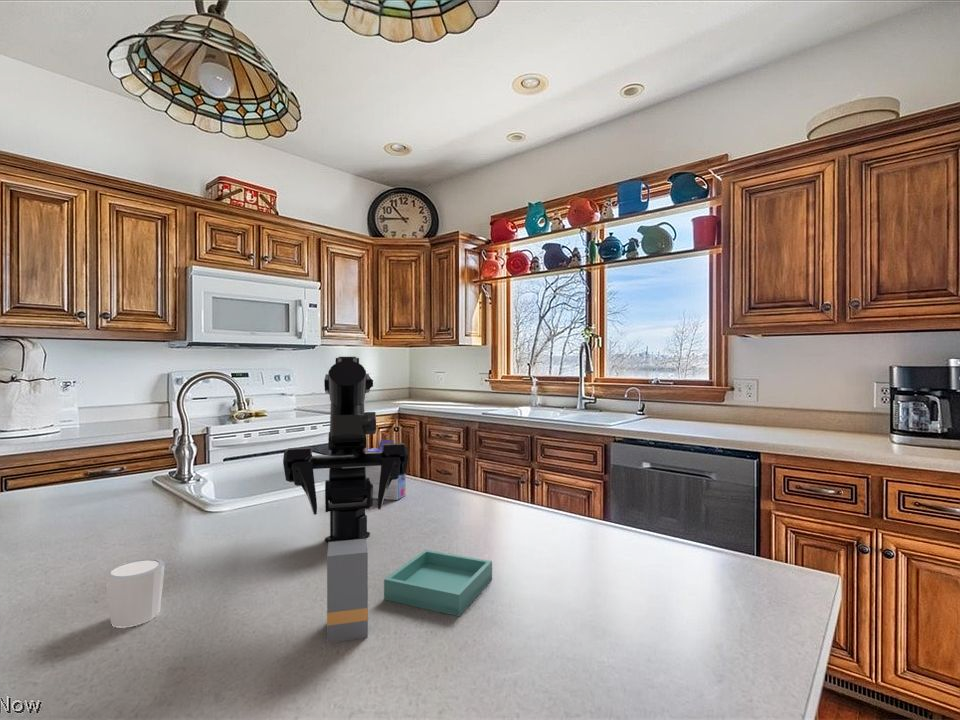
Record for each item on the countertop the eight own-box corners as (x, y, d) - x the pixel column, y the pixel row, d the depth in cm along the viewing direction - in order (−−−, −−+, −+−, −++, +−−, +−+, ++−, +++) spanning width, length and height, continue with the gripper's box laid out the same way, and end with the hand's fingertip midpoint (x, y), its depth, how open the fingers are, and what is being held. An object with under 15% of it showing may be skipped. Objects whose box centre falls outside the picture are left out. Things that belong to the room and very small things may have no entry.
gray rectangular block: (328, 622, 68) (328, 541, 68) (366, 617, 69) (366, 538, 69) (327, 643, 63) (326, 556, 63) (367, 637, 64) (367, 552, 64)
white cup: (125, 606, 72) (124, 558, 72) (174, 604, 73) (174, 556, 73) (92, 632, 65) (92, 579, 65) (147, 630, 66) (147, 577, 66)
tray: (384, 599, 74) (384, 579, 74) (425, 567, 86) (425, 549, 86) (459, 616, 69) (459, 594, 69) (492, 579, 81) (492, 561, 81)
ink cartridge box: (406, 495, 131) (406, 439, 130) (399, 500, 125) (399, 443, 125) (371, 492, 133) (371, 438, 132) (362, 498, 127) (362, 442, 127)
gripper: (284, 396, 76) (274, 486, 66) (406, 393, 81) (416, 477, 70) (290, 439, 84) (282, 526, 73) (401, 434, 89) (409, 515, 78)
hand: (347, 510), depth 74 cm, fingers open, 9 cm apart
